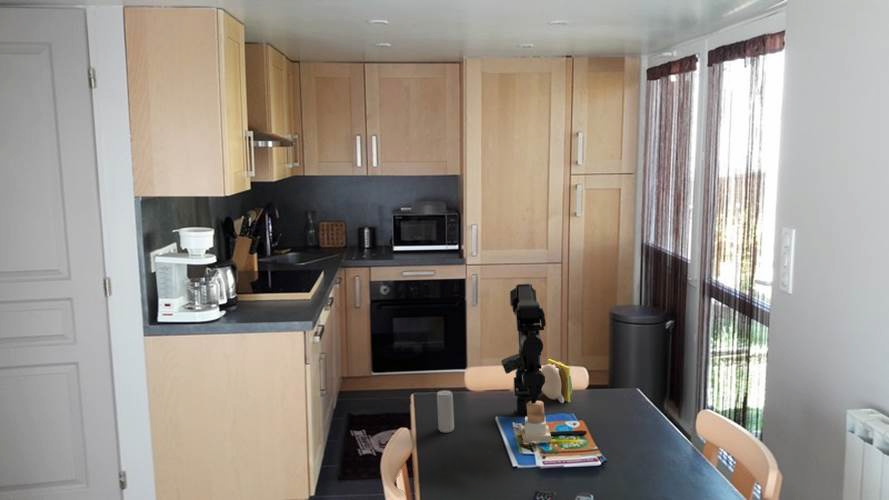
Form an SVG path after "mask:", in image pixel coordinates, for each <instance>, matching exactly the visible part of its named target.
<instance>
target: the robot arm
mask: <svg viewBox="0 0 889 500" xmlns="http://www.w3.org/2000/svg"><path fill="white" fill-rule="evenodd" d="M509 306H510V307H512V308H511V311H512V313H513V315H514V316H515V321H516V331H517V332H518V335H517V336H518V353H516V354H513V355H511V356H508V357H505V358H503V359H502V360H501V361H500V362H501V365H502V368H503V370H504V372H505V374H507V375H508V374H510V373H512V372H514V371H515V373H514V374H515V376H514V377H513V387H512V388H513V394H514V395H513V396H514V397H516V409H514V410H513V412H514V413H517V414H520V415H524V416H525V417H528V416H527V406H526V404H527V403H528V402H530V401H531V403H532V404H533V403H536V401H538V398H539V396H541V394H542V393H543V390H542V387H543V385H544V383H545V376H544V373H543V372H542V371H541V370H542V363H541V356H542V351H543V349H544V343H543V341H542V338H541V336H540V335H541V334H540V331H545V327H546V324H547V323H546V315H545V314H546V313H545V311H544V309H543V308H542V307H541V306H540V303H539V301H538V300H537V291H536V289H534V288H533V285H532V284H530V283H518V284H516V285H515V287H514V288H513V289H512V290H510V291H509Z"/></svg>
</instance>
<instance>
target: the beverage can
mask: <svg viewBox="0 0 889 500" xmlns="http://www.w3.org/2000/svg"><path fill="white" fill-rule="evenodd" d="M453 397H454V396H453V392H452V391H451V390H445V389H444V390H443V389H442V390H440V391H437V394H436V403H437V404H436V405H437V422H438V423H437V424H438V430H439V432H440V433H444V434H446V433H451V432H453V431H454V430H455V418H454V417H455V416H454V415H455V414H454V399H453Z"/></svg>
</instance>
